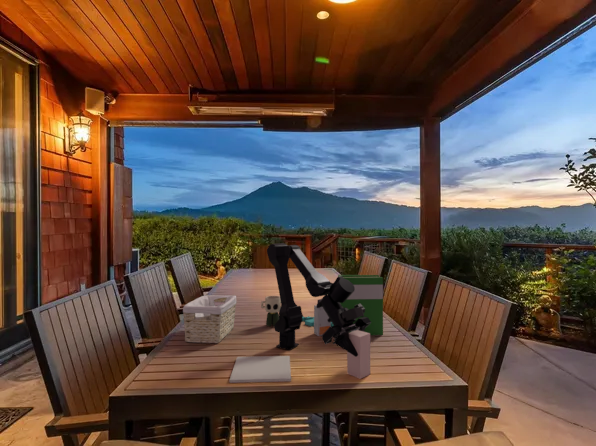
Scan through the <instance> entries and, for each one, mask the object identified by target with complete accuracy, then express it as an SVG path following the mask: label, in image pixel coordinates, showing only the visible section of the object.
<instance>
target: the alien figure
mask: <svg viewBox="0 0 596 446" xmlns="http://www.w3.org/2000/svg"><path fill="white" fill-rule="evenodd" d="M303 322H304V325H306V326H308V327H314V316H309V315H308V316H303V317H302V322H301V323H303ZM332 326H334V325H333V323H332V322H331V327H332Z"/></svg>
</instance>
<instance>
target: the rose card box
mask: <svg viewBox="0 0 596 446" xmlns="http://www.w3.org/2000/svg"><path fill="white" fill-rule="evenodd" d="M349 339H350V340H351V342H352V344H353V346H354V347H355V349H356V351H357V353H358V356H356V357H355V356H354V355H352V354H351V353H349V352H348V351H347V352H346V353H347V355H346V356H347V359H346V360H347V363H346V364H347V365H346V367H347V368H346V369H347V373H346V374H347V375H350V376H352V377H354V378H357V379H360V380H361V379H362V378H365V377H367V376H369V375H371V335H370V333H367V332H363V331H359V330H356V331H353V332H350V333H349Z"/></svg>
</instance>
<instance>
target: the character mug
mask: <svg viewBox="0 0 596 446" xmlns="http://www.w3.org/2000/svg"><path fill="white" fill-rule="evenodd" d="M260 308H261V309H264V310H265V312H266V313H267V314H266V320H265V321H266V323H265V324H266V326H267V327H272V326H273V327H274V325H275V324H276V322H277V321H278V320H279V311H280V308H281V299H280V295H267V296H265V298H264V300H261V303H260Z"/></svg>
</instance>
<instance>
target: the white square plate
mask: <svg viewBox="0 0 596 446" xmlns="http://www.w3.org/2000/svg"><path fill="white" fill-rule="evenodd" d="M291 373H292V371H291V355H273V356H272V355H269V356H266V355H263V356H261V355H260V356H257V355H256V356H255V355H254V356H237V357H236V359H235V363H234V365H233V369H232V372H231V374H230V378H229V383H230V384H231V383H237V384H238V383H273V382H276V383H277V382H292V374H291Z"/></svg>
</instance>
